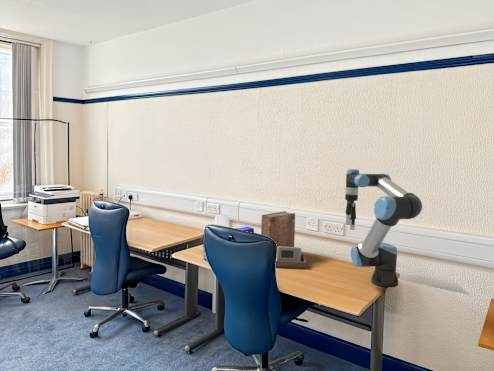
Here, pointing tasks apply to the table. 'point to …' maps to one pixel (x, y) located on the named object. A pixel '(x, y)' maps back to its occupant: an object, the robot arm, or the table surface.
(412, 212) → the robot arm
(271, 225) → the book
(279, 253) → the digital clock
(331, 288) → the table surface
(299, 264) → the brown rectangular tray
